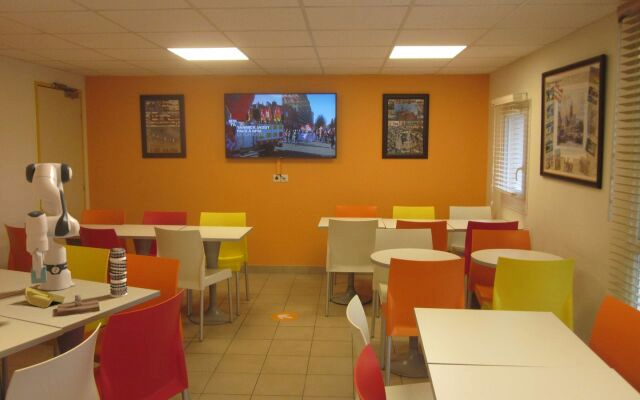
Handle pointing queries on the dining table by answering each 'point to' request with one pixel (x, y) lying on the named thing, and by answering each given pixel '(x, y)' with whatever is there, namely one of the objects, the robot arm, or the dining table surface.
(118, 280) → the brown white cylinder
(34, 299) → the plastic component
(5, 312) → the dining table surface
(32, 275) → the housing cap
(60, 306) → the stub plate
